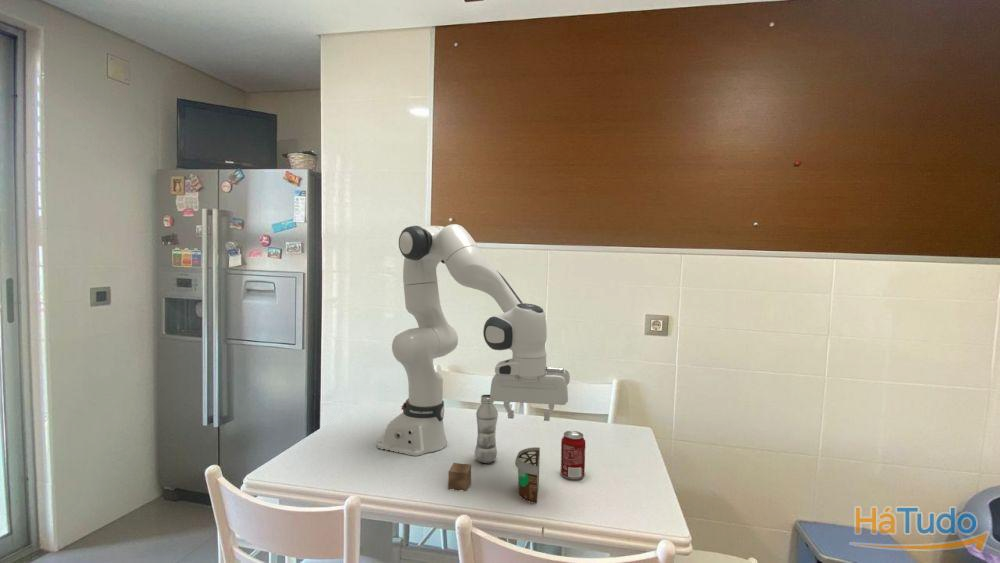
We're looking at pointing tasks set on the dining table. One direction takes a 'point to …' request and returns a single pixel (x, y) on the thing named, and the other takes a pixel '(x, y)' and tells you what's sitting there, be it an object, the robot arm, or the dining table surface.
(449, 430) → the dining table surface
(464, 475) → the walnut block
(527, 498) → the food container
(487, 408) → the plastic bottle
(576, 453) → the soda can
